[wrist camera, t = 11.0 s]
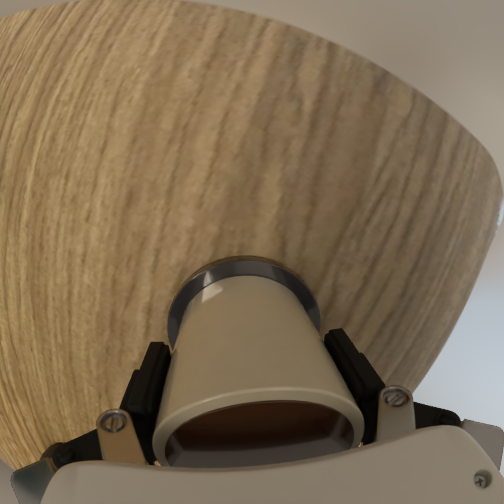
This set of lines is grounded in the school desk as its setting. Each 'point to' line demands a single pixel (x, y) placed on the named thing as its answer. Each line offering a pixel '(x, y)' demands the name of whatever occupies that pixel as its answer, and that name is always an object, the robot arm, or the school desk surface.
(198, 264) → the school desk surface
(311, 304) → the dark grey round coaster
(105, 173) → the school desk surface
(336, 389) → the cup
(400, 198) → the school desk surface
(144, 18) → the school desk surface
